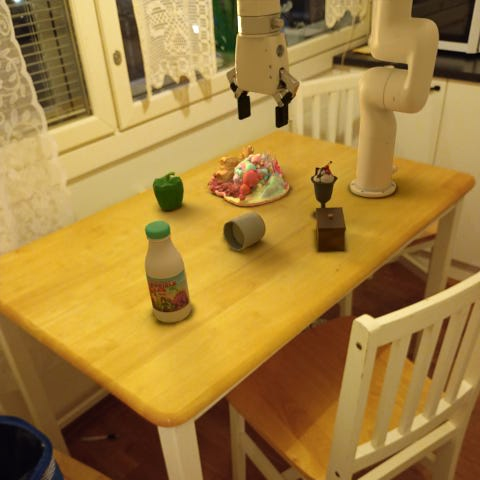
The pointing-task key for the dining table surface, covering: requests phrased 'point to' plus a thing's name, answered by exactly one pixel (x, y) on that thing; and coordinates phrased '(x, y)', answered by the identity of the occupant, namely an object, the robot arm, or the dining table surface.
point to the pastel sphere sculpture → (249, 179)
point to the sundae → (323, 184)
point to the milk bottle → (166, 275)
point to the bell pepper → (168, 191)
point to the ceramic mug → (244, 230)
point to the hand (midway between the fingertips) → (262, 122)
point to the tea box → (330, 229)
